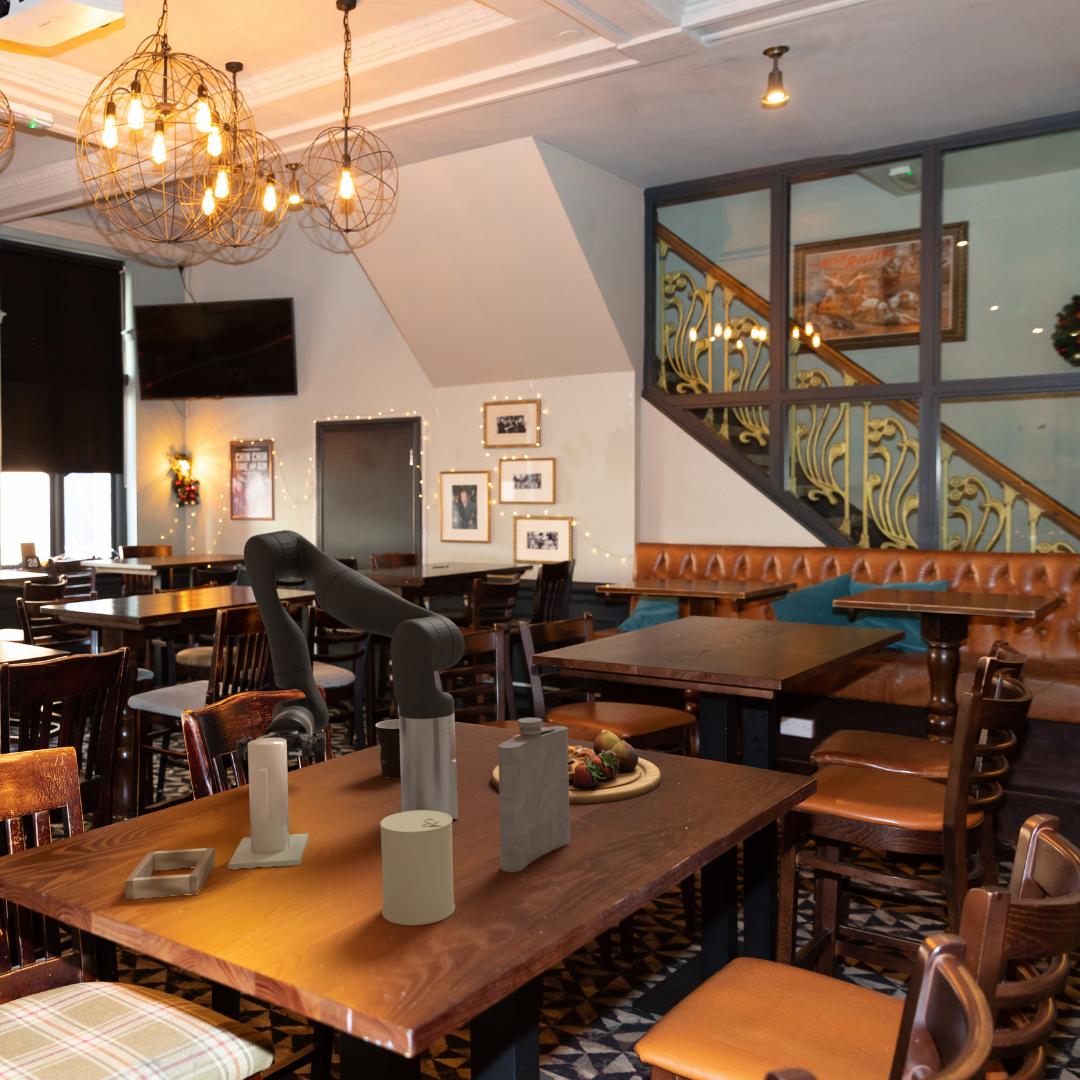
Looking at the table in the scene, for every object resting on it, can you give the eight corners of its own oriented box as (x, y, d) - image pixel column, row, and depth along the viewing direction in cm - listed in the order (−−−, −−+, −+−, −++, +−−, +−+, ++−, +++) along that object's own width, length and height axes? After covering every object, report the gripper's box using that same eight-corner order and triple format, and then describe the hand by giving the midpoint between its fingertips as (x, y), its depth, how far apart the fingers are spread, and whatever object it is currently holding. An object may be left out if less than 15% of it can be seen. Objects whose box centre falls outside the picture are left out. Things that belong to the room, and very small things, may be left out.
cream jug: (291, 840, 150) (288, 736, 150) (284, 858, 142) (281, 748, 142) (254, 842, 150) (251, 738, 149) (245, 860, 142) (241, 750, 141)
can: (424, 931, 118) (421, 832, 117) (366, 916, 123) (364, 821, 122) (469, 905, 125) (467, 812, 125) (413, 892, 130) (411, 802, 130)
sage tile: (308, 838, 154) (308, 833, 154) (299, 865, 142) (299, 859, 142) (243, 842, 152) (242, 837, 152) (228, 869, 140) (228, 864, 140)
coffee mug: (412, 781, 186) (411, 728, 186) (370, 779, 188) (368, 727, 188) (431, 765, 198) (430, 716, 198) (391, 764, 200) (389, 715, 199)
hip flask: (515, 873, 136) (511, 730, 136) (491, 868, 138) (488, 728, 138) (573, 840, 150) (570, 710, 149) (551, 836, 152) (548, 708, 151)
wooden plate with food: (457, 782, 186) (456, 739, 186) (578, 751, 208) (577, 712, 207) (572, 821, 162) (572, 772, 162) (696, 782, 184) (695, 738, 183)
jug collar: (214, 864, 143) (214, 847, 143) (197, 894, 131) (196, 876, 131) (149, 868, 141) (148, 851, 141) (125, 899, 130) (125, 881, 130)
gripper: (247, 715, 172) (230, 734, 156) (329, 710, 174) (321, 729, 158) (248, 757, 172) (232, 781, 156) (331, 752, 174) (322, 775, 158)
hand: (276, 755), depth 157 cm, fingers open, 8 cm apart
